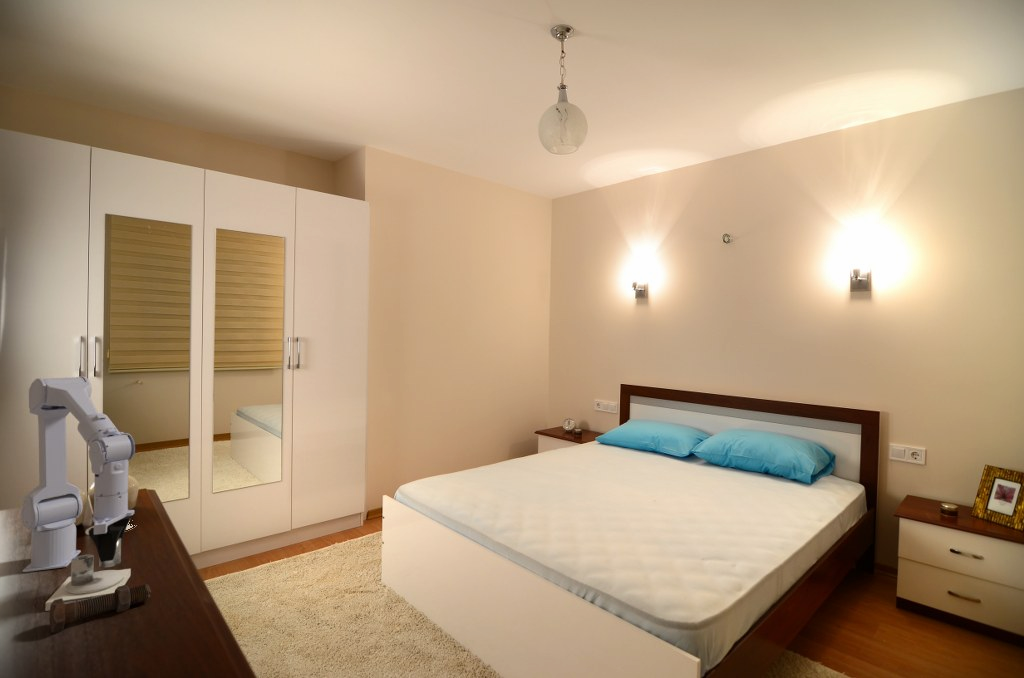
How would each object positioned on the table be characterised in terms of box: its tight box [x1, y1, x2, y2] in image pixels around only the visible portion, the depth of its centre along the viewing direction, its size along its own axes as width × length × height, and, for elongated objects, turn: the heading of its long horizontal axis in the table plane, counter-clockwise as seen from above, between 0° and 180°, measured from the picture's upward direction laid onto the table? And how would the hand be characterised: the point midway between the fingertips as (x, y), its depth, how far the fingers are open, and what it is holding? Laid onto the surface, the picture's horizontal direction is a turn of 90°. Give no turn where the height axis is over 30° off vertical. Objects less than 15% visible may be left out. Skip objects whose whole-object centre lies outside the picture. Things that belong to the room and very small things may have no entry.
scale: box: [44, 568, 132, 612], centre depth 109 cm, size 12×11×2 cm
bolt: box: [49, 583, 152, 634], centre depth 100 cm, size 6×5×15 cm
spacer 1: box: [70, 554, 95, 586], centre depth 109 cm, size 4×4×5 cm
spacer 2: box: [98, 537, 122, 568], centre depth 110 cm, size 4×4×5 cm
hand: (110, 556), depth 110 cm, fingers closed on spacer 2, 4 cm apart
